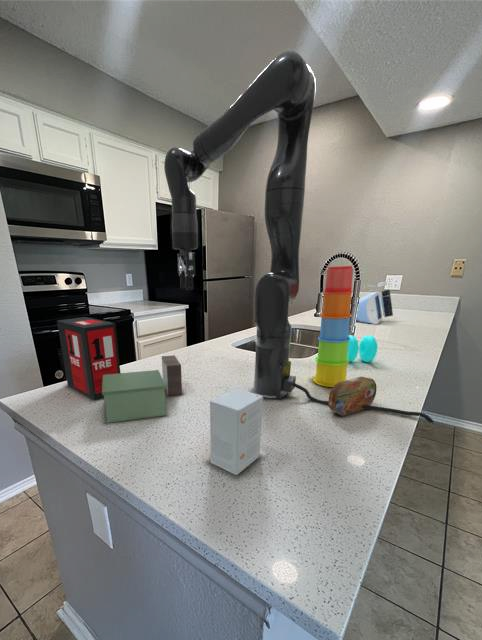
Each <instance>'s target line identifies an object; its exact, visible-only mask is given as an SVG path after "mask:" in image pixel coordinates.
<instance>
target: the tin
mask: <svg viewBox="0 0 482 640" xmlns="http://www.w3.org/2000/svg"><path fill="white" fill-rule="evenodd" d="M377 388H378V387H377V383H376V381H375V380H374V379H373V378H371V377H365V376H358V377H354V378H350V379H347V380H345V381H341V382H339V383H337V384H336V385H334V387H331V389H330V391H329V395H328V400H327V401H328V402H329V405H328V408H329V410H330V411H332V412H333V413H335V414H338V415H339V416H341V417H343V416H348V415H351V414H354V413H357V412H360V411H363V410H365V409H364V408H362V406H363V405H369V406H372V404H373V402H374V401H375V398H376V396H377V390H378V389H377Z"/></svg>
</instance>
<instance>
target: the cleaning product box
mask: <svg viewBox="0 0 482 640" xmlns="http://www.w3.org/2000/svg"><path fill="white" fill-rule="evenodd" d="M56 324H57V330H58V337H59V343H60V349H61V353H62V361H63V366H64V367H63V368H64V371H65V372H64V373H65V378H66V385H67V386H68V387H70V388H72V389H73V390H76V391H77V392H79V393H81V394H83V395H84V396H86V397H88V398H90V399H91V400H93V401H96V400H100V399H102V398H103V399H104V395H102V383H103V375H107V374H118V373H121V365H120V355H119V345H118V337H117V327H116V323H115V322H111V321H106V320H102V319H97V318H93V317H88V316H83V317H75V318H66V319H59V320H56Z"/></svg>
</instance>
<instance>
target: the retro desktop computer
mask: <svg viewBox="0 0 482 640" xmlns="http://www.w3.org/2000/svg"><path fill="white" fill-rule="evenodd" d="M387 285H388V282H387V281H381V282H378V283H377V287H378V289H370V290H369V291H368V292H367V293H366V294H365V293H364V292H362V293H363V295H364V296H363V297H361V298H360V299H358V300H359V305H358V311H357V317H356V320H355V321H356V322H360V323H367V324H372V325H378V324H380V323H381V322H382V321H383V317H384V318H388V317H393V316H394V312H393V304H392V297H391V289H389V288H387V289H384V290H380V288H381V287H384V286H387ZM368 286H369V287H371V285H370V284H368ZM373 287H375V285H372V288H373ZM364 288H365V287H363V289H362V290H364ZM370 291H374V292H372V293H369V292H370Z"/></svg>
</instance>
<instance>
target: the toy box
mask: <svg viewBox="0 0 482 640" xmlns="http://www.w3.org/2000/svg"><path fill="white" fill-rule="evenodd" d="M165 390H166V386H165V383H164V381H163V376H162V374H161V372H160V370H159V369H153V370H144V371H143V370H142V371H130V372H129V371H128V372H120V373H118V374H107V375H103V383H102V395H104V397H103V400H104V407H105V409H104V410H105V415H106V423H107V424H108V423H115V422H121V421H122V422H123V421H130V420H141V419H147V418H155V417H156V418H157V417H162V416H163V417H164V416H166V415H167V412H166V396H165V395H166V394H165Z"/></svg>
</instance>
